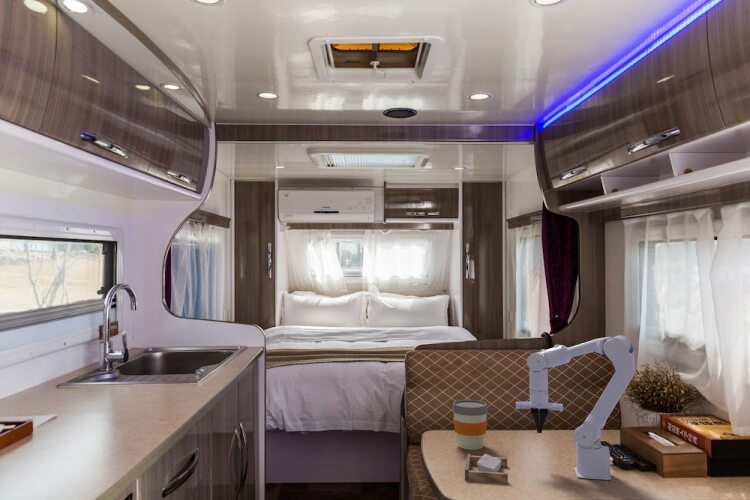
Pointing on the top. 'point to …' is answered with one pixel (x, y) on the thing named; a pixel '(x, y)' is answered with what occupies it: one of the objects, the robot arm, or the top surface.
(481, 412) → the reusable coffee cup
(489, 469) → the white rough stone
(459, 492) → the top surface
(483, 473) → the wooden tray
